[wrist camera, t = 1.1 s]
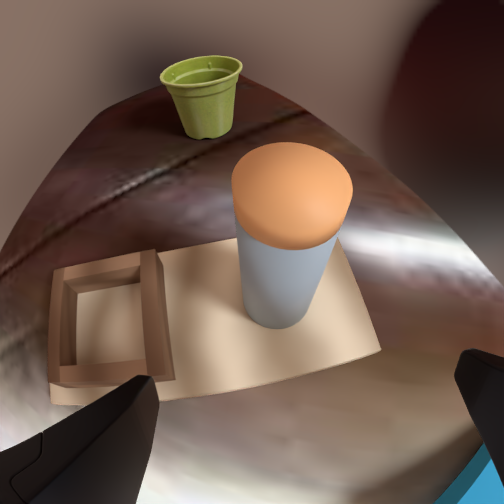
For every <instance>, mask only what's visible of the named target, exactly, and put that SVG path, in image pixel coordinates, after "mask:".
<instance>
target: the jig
mask: <svg viewBox="0 0 504 504" xmlns="http://www.w3.org/2000/svg"><path fill="white" fill-rule="evenodd" d="M380 350H381V348H380V345H379V342H378V339H377V336H376V333H375V331H374V328H373V325H372V322H371V319H370V317H369V314H368V311H367V309H366V306H365V303H364V301H363V298H362V295H361V293H360V290H359V288H358V285H357V283H356V280H355V278H354V275H353V273H352V270H351V268H350V265H349V263H348V261H347V258H346V256H345V253H344V251H343V249H342V246H341V244H340V242H339V239H338V237H337V239H336V242H335V244H334V247H333V250H332V252H331V255H330V257H329V260H328V262H327V265H326V267H325V270H324V272H323V275H322V277H321V280H320V282H319V284H318V287H317V289H316V292H315V294H314V296H313V299H312V301H311V303H310V306H309V308H308V310H307V312H306V314H305V316H304V317H303V318H302V319H301V320H300V321H299V322H298V323H296V324H295V325H293V326H291V327H288V328H284V329H270V328H266V327H263V326H261V325H259V324H258V323H256V322H255V321H254V320H253V319H252V318H251V317H250V316H249V315H248V313H247V311H246V309H245V307H244V303H243V294H242V284H241V274H240V265H239V255H238V245H237V238H234V239H228V240H223V241H218V242H212V243H207V244H202V245H197V246H192V247H186V248H181V249H176V250H171V251H166V252H161V253H157V252H156V250H155V249H151V250H146V251H141V252H136V253H131V254H126V255H122V256H117V257H112V258H107V259H103V260H98V261H93V262H88V263H84V264H79V265H75V266H70V267H66V268H61V269H57V270H54V274H53V282H52V290H51V300H50V311H49V327H48V383H50V396H51V404H56V405H89V404H90V403H92V402H94V401H96V400H97V399H99V398H100V397H102V396H104V395H105V394H107V393H109V392H110V391H112V390H114V389H115V388H117V387H118V386H120V385H122V384H123V383H125V382H127V381H128V380H130V379H131V378H133V377H135V376H136V375H149V376H152V377H153V379H154V381H155V385H156V389H157V393H158V397H159V401H169V400H177V399H185V398H193V397H200V396H207V395H213V394H219V393H225V392H231V391H236V390H242V389H247V388H252V387H257V386H261V385H266V384H270V383H275V382H279V381H283V380H287V379H291V378H295V377H299V376H303V375H307V374H310V373H314V372H318V371H321V370H325V369H328V368H331V367H335V366H338V365H341V364H345V363H348V362H351V361H354V360H357V359H360V358H363V357H366V356H369V355H372V354H374V353H377V352H378V351H380Z"/></svg>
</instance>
